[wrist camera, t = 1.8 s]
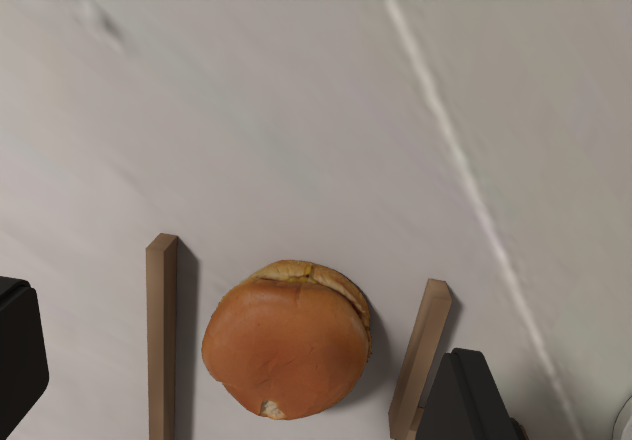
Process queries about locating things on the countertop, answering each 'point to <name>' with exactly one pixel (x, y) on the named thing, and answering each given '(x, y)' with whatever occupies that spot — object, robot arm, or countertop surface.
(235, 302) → the burger
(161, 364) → the box
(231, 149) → the countertop surface
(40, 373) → the robot arm
